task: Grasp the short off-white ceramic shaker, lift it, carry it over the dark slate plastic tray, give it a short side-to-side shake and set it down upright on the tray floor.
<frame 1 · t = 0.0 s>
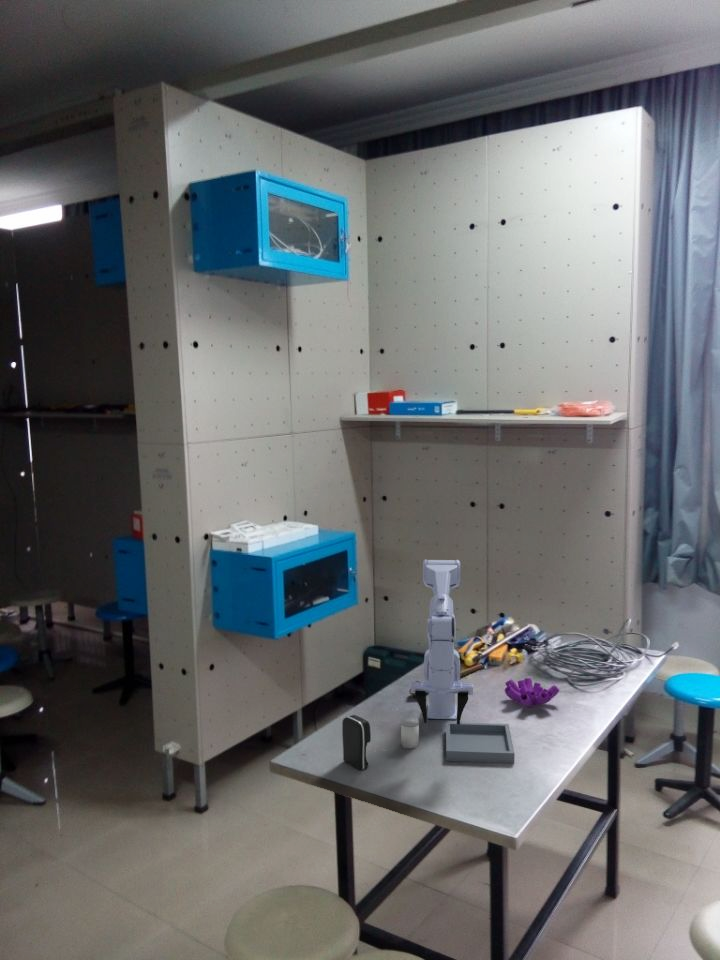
hand: (441, 722, 179), 10 cm above the table, fingers open, 7 cm apart
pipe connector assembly: (527, 705, 213), on the table
shaker: (410, 744, 190), on the table
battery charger: (357, 764, 180), on the table
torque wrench: (449, 684, 230), on the table
tray: (478, 746, 188), on the table
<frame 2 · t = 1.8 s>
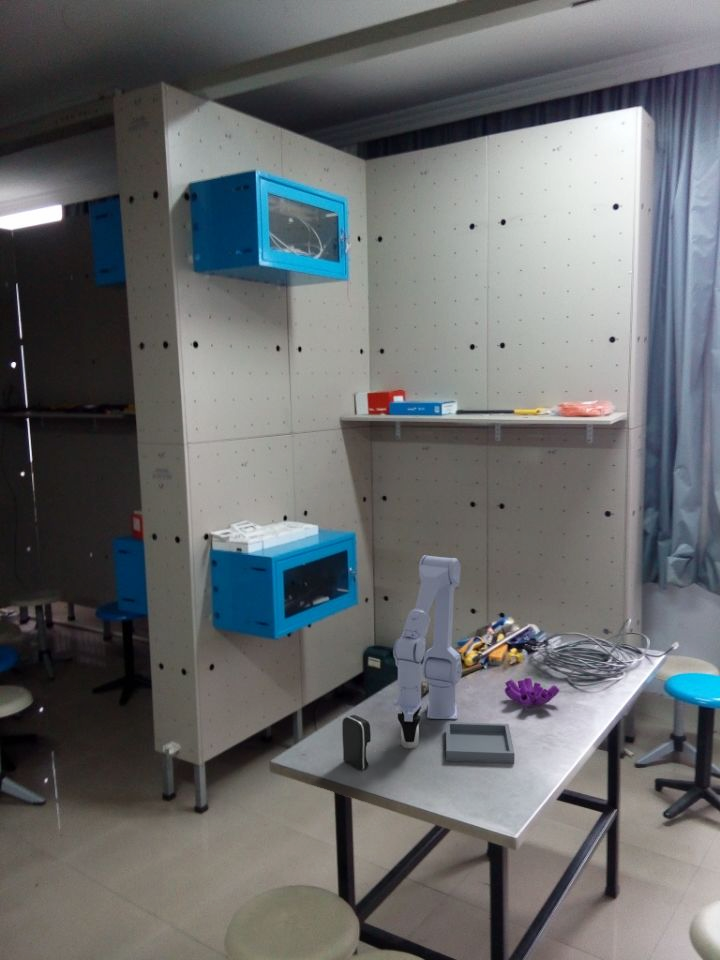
hand: (409, 737, 190), 2 cm above the table, fingers closed on shaker, 4 cm apart
shaker: (410, 744, 190), on the table, touching gripper
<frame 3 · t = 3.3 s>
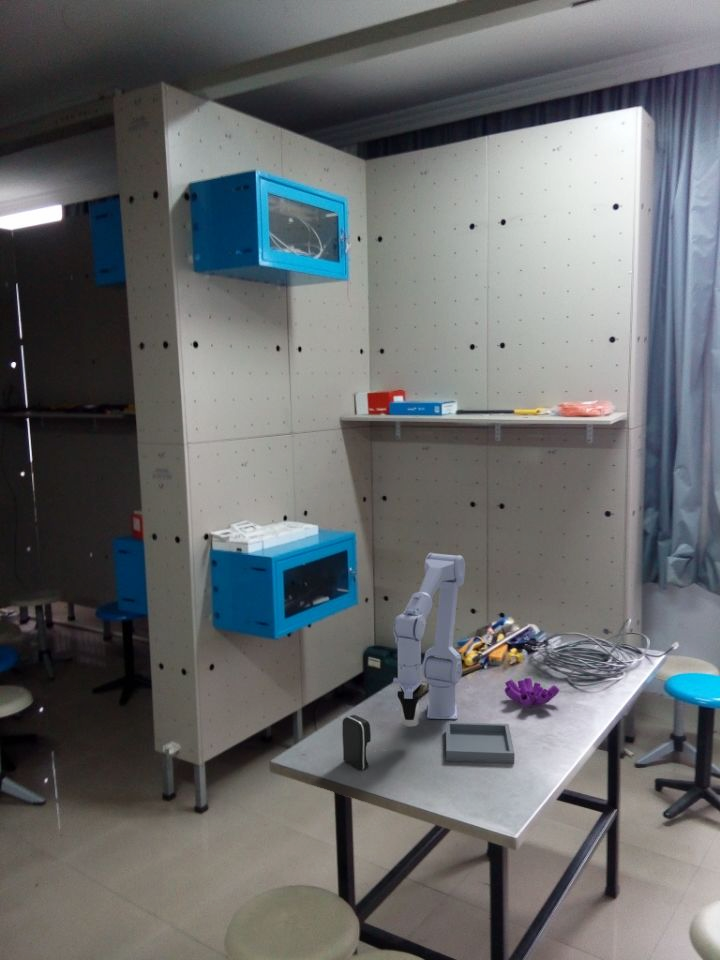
hand: (409, 715, 189), 8 cm above the table, fingers closed on shaker, 4 cm apart
shaker: (409, 722, 189), point 6 cm above the table, touching gripper
everything else where it was.
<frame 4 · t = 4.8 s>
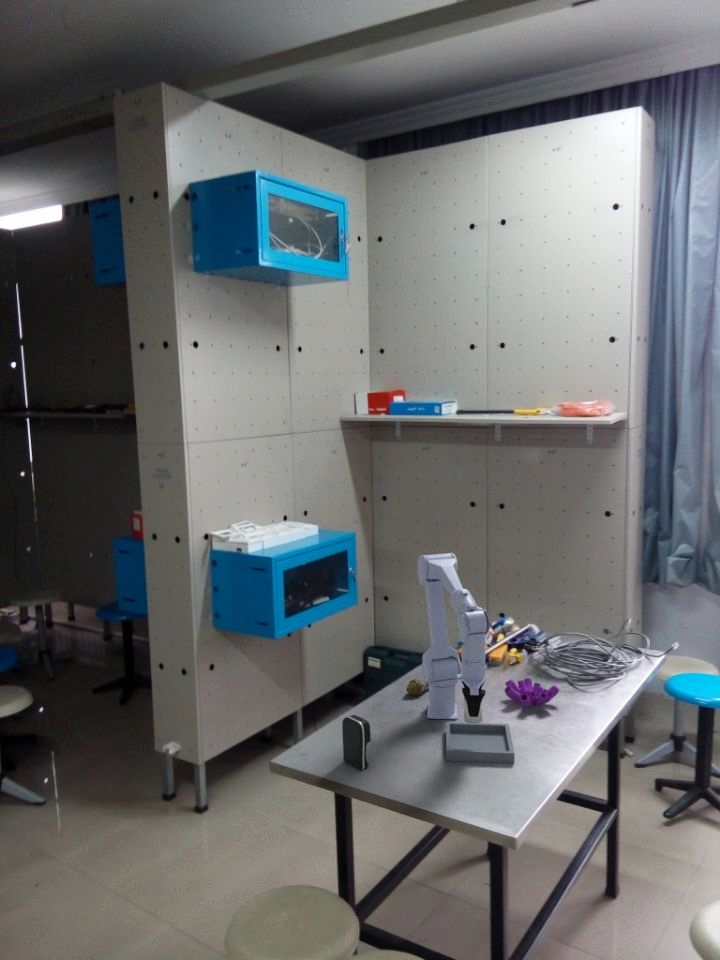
hand: (473, 712, 187), 9 cm above the table, fingers closed on shaker, 4 cm apart
shaker: (473, 719, 187), point 7 cm above the table, touching gripper
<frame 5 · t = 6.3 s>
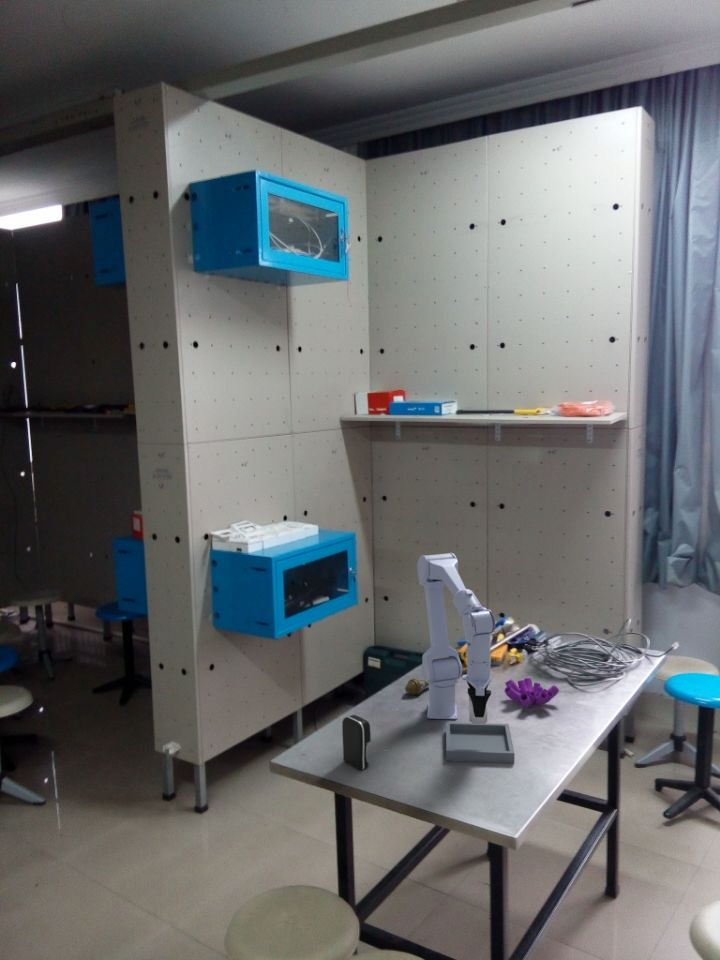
hand: (478, 712, 187), 9 cm above the table, fingers closed on shaker, 4 cm apart
shaker: (478, 720, 187), point 7 cm above the table, touching gripper
when the fingers open (3 cm above the table, at t = 7.7 s): shaker stays where it is, resting on tray.
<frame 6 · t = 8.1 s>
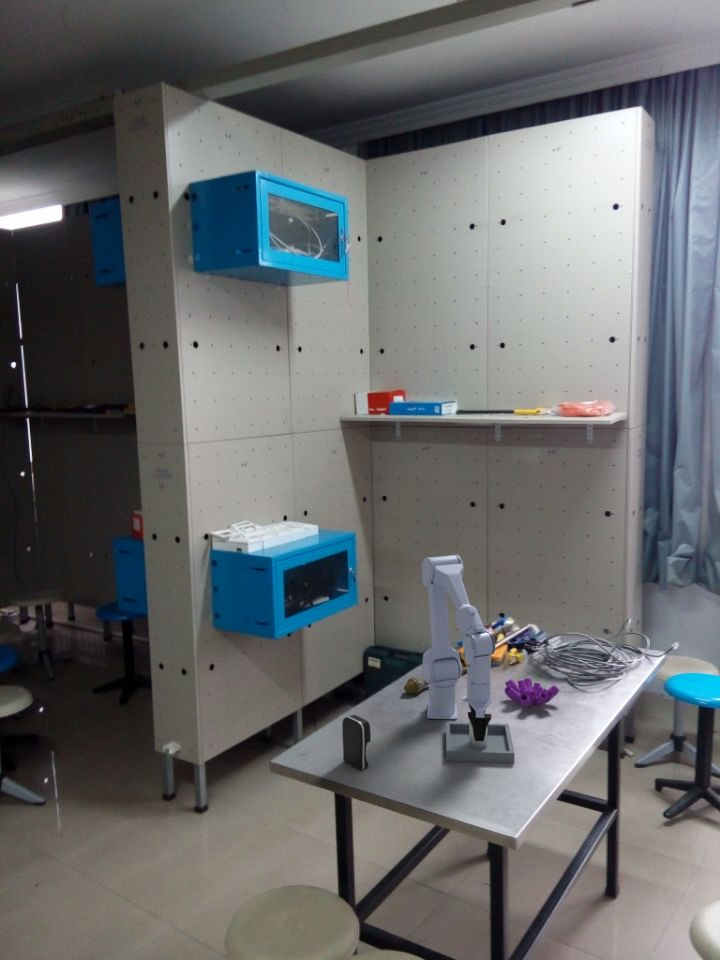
hand: (478, 733, 188), 3 cm above the table, fingers open, 7 cm apart
shaker: (478, 744, 188), point 1 cm above the table, touching tray
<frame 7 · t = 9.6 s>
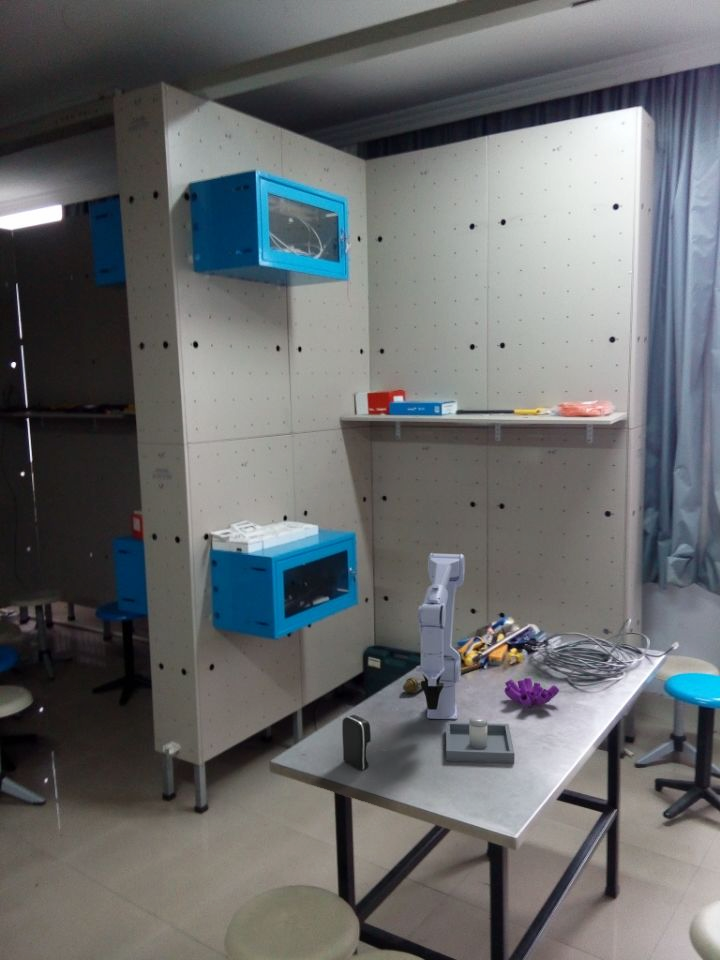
hand: (432, 702, 192), 9 cm above the table, fingers open, 7 cm apart
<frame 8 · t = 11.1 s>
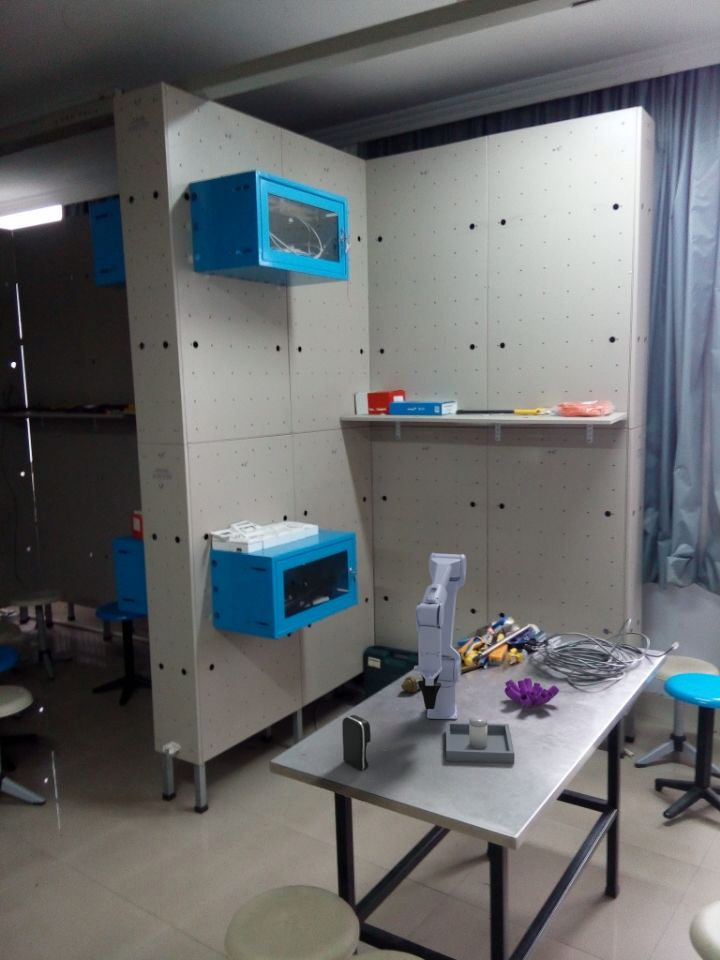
hand: (430, 702, 192), 9 cm above the table, fingers open, 7 cm apart
at the end: shaker inside the target area on the tray (0.1 cm from its centre), point 0.5 cm above the tray's base; shaker tilted 0°; the gripper is holding nothing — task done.
